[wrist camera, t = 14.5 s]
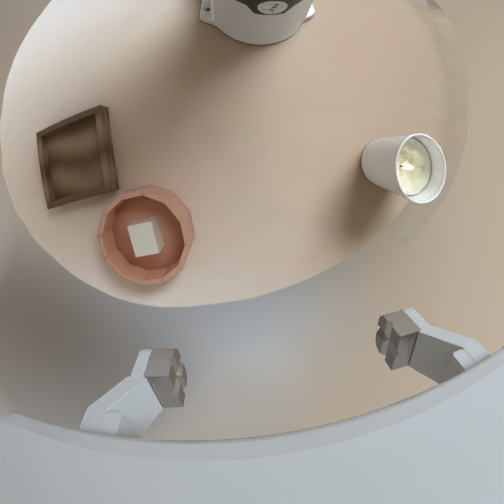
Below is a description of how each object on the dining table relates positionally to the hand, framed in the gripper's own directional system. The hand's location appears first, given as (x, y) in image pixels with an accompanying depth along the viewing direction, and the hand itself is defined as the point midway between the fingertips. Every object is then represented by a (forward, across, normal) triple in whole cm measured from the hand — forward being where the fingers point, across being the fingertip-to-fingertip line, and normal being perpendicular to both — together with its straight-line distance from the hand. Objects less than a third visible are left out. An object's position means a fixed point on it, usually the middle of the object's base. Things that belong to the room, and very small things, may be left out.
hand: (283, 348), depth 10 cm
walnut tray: (+34, +27, -12) cm, 45 cm away
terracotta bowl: (+34, +16, +3) cm, 38 cm away
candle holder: (+34, -24, -4) cm, 42 cm away
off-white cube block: (+33, +16, +3) cm, 37 cm away
